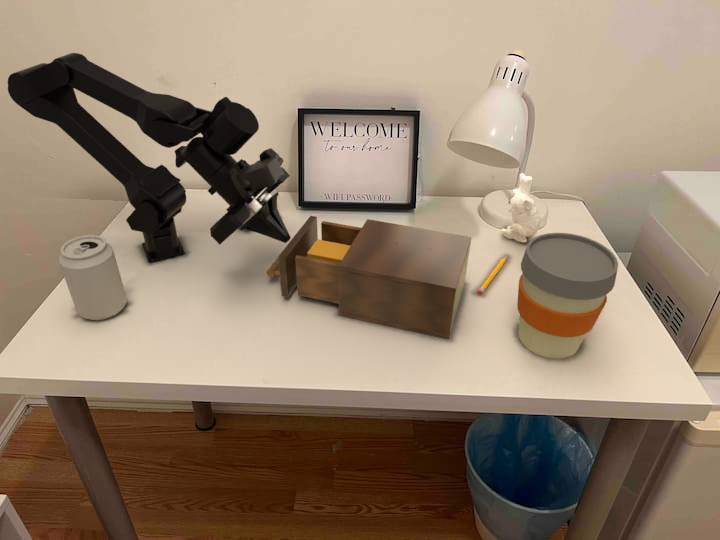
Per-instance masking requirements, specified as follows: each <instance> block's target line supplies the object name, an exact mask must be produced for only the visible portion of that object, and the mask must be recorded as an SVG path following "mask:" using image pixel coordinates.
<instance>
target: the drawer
mask: <svg viewBox="0 0 720 540" xmlns="http://www.w3.org/2000/svg"><path fill="white" fill-rule="evenodd" d="M320 225H321V226H320V229H321V230H320V232H321V240H323V241H328V242H334V243H339V244H344V245H350V246H351V245H352V243H353V241H354V240H355V238H356V236H357V235H358V233H359V232H360V230H361V228H362V227H359V226H353V225H347V224H342V223H338V222H337V223H336V222H331V221H325V220H322V221H321V222H320ZM318 236H319V235H318V216H315V215H310V216H309V217H308V218H307V220H306V221H305V222H304V223H303V224H302V225H301V227H300V228H299V229H298V231H297V232H296V233H295V234H294V236H293V237H292V238H291V239H290V240H289V241H288V243H287V245H286V246H285V247H284V249H283V250H282V251H281V252H280V253H279V255H278V256H277V258H276V259H275V260H274V261H273V262H272V264H271V265H270V266H269V268H268V269H266V275H267V276H268V277H269V278H273V277H274V276H277V277H279V281H280V292H281V297H284V298H289V297H290V296H291V294H292V293H293V291H294V290H295V288H296V291H297V292H296V293H297V296H300V297H305V298H310V299H315V300H319V301H323V302H327V303H333V304H338V305H339V269H338V266H339V264H340V263H335V262H330V261H324V260H319V259H314V258H309V257H307V253H308V251H309V250H310V249H311V247H312V246H313V244H314V243H315V242H316V240H317V239H318V240H319V237H318Z"/></svg>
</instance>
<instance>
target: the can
mask: <svg viewBox="0 0 720 540" xmlns="http://www.w3.org/2000/svg"><path fill="white" fill-rule="evenodd" d="M58 263H59V266H60V270H61V271H62V274H63V277H64V281H65V283H66V286H67V289H68V291H69V294H70V297H71V300H72V302H73V305H74V308H75V311H76V313H77V314H78V316H79V317H81V318H83V319H87V320H91V321H103V320H107V319H110V318H113V317H114V316H116V315H117V314H119V313H120V312H121V311H122V310H123V308H124V307H125V306H126V305H127V301H128V298H127V294H126V291H125V287H124V284H123V280H122V276H121V272H120V269H119V266H118V262H117V258H116V255H115V252H114V248H113V246H112V245H111V244H110V243H108V242H107V240H106V239H105V237H103V236H100V235H97V234H85V235H81V236H77V237H74V238H71V239H70V240H67V241H66V242H65V243H64V244H63V245H62V246H61V248H60V255H59V257H58Z"/></svg>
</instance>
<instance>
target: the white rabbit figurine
mask: <svg viewBox="0 0 720 540" xmlns="http://www.w3.org/2000/svg"><path fill="white" fill-rule="evenodd" d="M533 181H534V179H533V177H532V176H530V175H527V176H526V175H525V173H522V172H521V173H520V174H519V186H518V187H517V188H513V189H512V195H513V196H512V197H511V199H510V200H509V203H510V204H509V205H508V207H507V211H508V212H509V213H511V217H510V219H509V224H510V225H508V226H507V227H506V228H501V229H500V232H501V233H502V235H504V238H506V239H509V240H514V241H516V242H519V243H527V242H528V239H527V237H532V236H534V235H535V234H537V233H538V231H539V230H540V226H541V225H540V224H541V217H540V213H539V209H538V207H537V206H536V203H535V200H534V199H532V198H531V196H530V195H531V194H530V193H531V189H532V185H533Z"/></svg>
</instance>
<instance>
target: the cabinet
mask: <svg viewBox="0 0 720 540" xmlns="http://www.w3.org/2000/svg"><path fill="white" fill-rule="evenodd" d="M360 228H361V230H360V232H359V233H358V235H357V236H356V238H355V240H354V241H353V243H352V245H351V246H350V248H349V249H348V251H347V253H346V254H345V256H344V257H343V259H342V261H341V262H340V264H339V266H338V269H339V304H338V316H340V317H345V318H350V319H355V320H360V321H364V322H367V323H373V324H376V325H377V324H378V325H381V326H386V327H392V328H395V329H400V330H405V331H410V332H415V333H419V334H423V335H428V336H431V337H432V336H433V337H437V338H442V339H446V340H450V338H451V334H452V329H453V327H454V323H455V319H456V315H457V312H458V309H459V305H460V301H461V298H462V295H463V291H464V287H465V284H466V276H467V271H468V263H469V258H470V257H469V256H470V251H471V244H472V236H469V235H461V234H457V233H451V232H450V233H449V232H445V231H438V230H433V229H427V228H423V227H417V226H411V225H410V226H409V225H404V224H398V223H392V222H387V221H381V220H375V219H371V218H370V219H369V218H367V219H366V221H365V222H364V224H363V225H362V227H360Z"/></svg>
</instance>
